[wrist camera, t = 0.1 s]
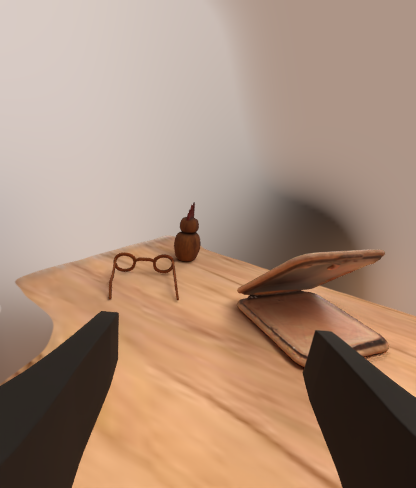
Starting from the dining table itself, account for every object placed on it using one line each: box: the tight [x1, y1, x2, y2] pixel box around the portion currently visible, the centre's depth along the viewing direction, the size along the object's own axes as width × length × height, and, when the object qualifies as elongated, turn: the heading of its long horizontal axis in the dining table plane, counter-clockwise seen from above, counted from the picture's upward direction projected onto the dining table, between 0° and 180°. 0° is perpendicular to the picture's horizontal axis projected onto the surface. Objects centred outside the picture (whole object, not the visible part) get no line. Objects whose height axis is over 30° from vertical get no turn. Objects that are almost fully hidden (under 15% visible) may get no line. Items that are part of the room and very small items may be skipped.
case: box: [237, 250, 389, 367], centre depth 54 cm, size 20×21×16 cm
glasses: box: [109, 253, 179, 300], centre depth 63 cm, size 13×13×5 cm
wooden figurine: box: [174, 203, 200, 262], centre depth 79 cm, size 7×6×15 cm
